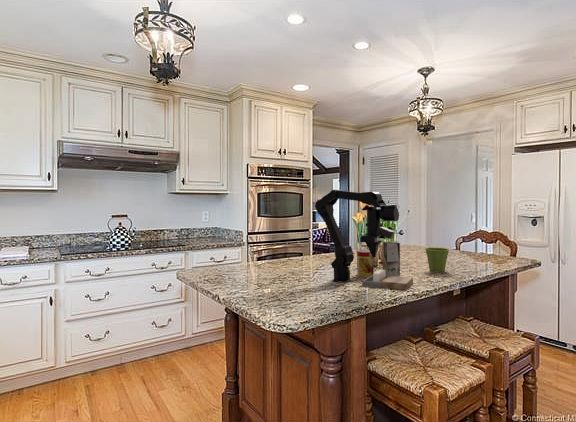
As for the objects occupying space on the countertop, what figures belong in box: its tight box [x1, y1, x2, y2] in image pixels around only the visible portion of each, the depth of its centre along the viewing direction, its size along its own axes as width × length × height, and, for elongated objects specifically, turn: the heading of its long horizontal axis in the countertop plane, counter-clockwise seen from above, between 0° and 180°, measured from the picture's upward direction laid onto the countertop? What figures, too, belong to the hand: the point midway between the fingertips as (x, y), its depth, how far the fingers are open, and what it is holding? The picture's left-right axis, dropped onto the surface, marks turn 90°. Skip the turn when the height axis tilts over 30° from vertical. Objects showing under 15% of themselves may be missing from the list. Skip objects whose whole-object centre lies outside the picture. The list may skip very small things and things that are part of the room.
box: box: [361, 275, 389, 289], centre depth 160 cm, size 8×15×2 cm, turn 149°
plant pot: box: [424, 247, 451, 273], centre depth 185 cm, size 12×12×11 cm
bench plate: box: [381, 276, 414, 291], centre depth 155 cm, size 10×13×2 cm
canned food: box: [356, 249, 375, 278], centre depth 177 cm, size 8×8×12 cm
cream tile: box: [373, 269, 386, 283], centre depth 159 cm, size 5×10×2 cm
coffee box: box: [381, 240, 401, 277], centre depth 176 cm, size 9×6×16 cm
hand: (374, 257), depth 156 cm, fingers closed
